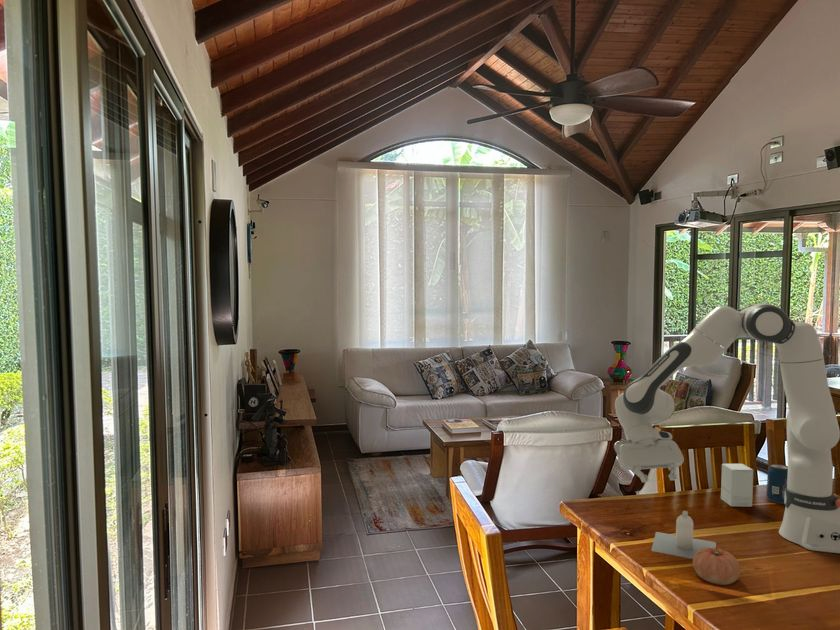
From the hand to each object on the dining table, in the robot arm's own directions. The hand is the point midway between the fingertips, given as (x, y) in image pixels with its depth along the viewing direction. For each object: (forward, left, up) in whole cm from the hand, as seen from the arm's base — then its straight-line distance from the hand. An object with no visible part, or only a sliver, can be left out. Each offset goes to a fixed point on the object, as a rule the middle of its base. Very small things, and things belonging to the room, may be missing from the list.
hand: (659, 480), depth 180 cm
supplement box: (-22, -37, -16) cm, 46 cm away
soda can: (-35, -46, -16) cm, 60 cm away
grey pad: (-8, +10, -16) cm, 20 cm away
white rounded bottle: (-8, +10, -15) cm, 19 cm away
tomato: (-16, +25, -16) cm, 33 cm away
